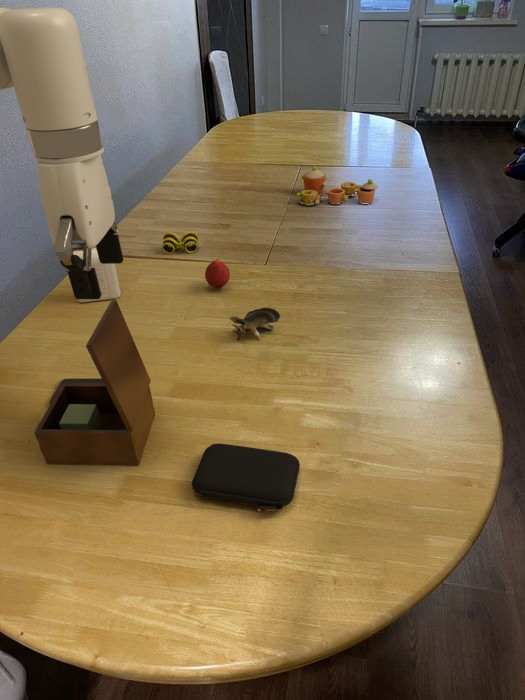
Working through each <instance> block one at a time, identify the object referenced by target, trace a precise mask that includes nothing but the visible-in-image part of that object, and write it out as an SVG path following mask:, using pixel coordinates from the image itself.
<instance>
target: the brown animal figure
mask: <svg viewBox="0 0 525 700" xmlns="http://www.w3.org/2000/svg"><path fill="white" fill-rule="evenodd" d="M281 316H282V315H281V314H280V312H278V310H276V309H275V308H270V307H261V308H257V309H253V310H249V311H248V312H247V313H246V314H245V316H244V317H243V318H240V317H239V316H236V315H233V316H229V320H230V321H231V322H232V323H234V324H231V326H233V327H235V328H234V329H232V332H233V333H235V334H236V335H237V338H236V341H240V340H241V339H242V338H243V336H244V334H245V333H247V332H249V333H250V334H251V335H253V336H255V338H257V339H258V341H261V334H260V332H259V331H258V330H257V329H258V328H259V329H267V330H270V331H273V330H275V328H274V326H273V325H271V324H273V323H278V321H279V319H281Z"/></svg>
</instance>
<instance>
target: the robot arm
mask: <svg viewBox="0 0 525 700" xmlns="http://www.w3.org/2000/svg"><path fill="white" fill-rule="evenodd" d="M11 88H14V92H15V95H16V99H17V102H18V105H19V110H20V113H21V116H22V120H23V124H24V127H25V130H26V133H27V136H28V137H27V138H28V141H29V144H30V147H31V150H32V154H33V158H34V161H35V162H37V163H36V168H37V169H36V170H37V179H38V185H39V191H40V196H41V197H40V198H41V202H42V206H43V210H44V211H43V212H44V214H45V220H46V223H47V227H48V231H49V236H50V238H51V242H52V245H53V250H54V253H55V254H56V256H57V258H58V259H59V263H60V265H61V266H62V267H63V268H64V269H63V270H64V271H65V272H66V273H67V275H68V279H69V282H70V286H71V289H72V292H73V296H74V298H75V299H76V300H77V299H100V297H101V295H102V294H101V290H100V286H99V282H98V278H97V274H96V271H95V267H92V268H91V252H92V248H96V249H97V253H98V257H99V261H100V263H102V264H115V265H116V264H118V265H119V264H122V263H123V262H124V256H123V249H122V247H121V241H120V236H119V234H118V231H119V229H118V225H117V223H116V222H115V221H116V212H115V207H114V201H113V195H112V191H111V188H110V183H109V180H108V179H109V178H108V176H107V172H106V169H105V165H104V162H103V158H102V156H101V155H102V154H104V153H105V149H104V143H103V139H102V134H101V129H100V125H99V119H98V115H97V111H96V106H95V101H94V96H93V91H92V88H91V81H90V77H89V72H88V68H87V62H86V59H85V53H84V49H83V44H82V40H81V35H80V31H79V27H78V23H77V20H76V18H75V17H74V15H73V14H72V13H71V12H70V11H69V10H67V9H65V8H62V7H56V6H44V7H41V6H40V7H27V8H15V9H14V8H8V7H2V6H0V91H2V90H6V89H11ZM73 241H74V242H73ZM76 241H78V242H76ZM79 241H82V242H79ZM83 241H84V242H83ZM75 251H83V260H82V259H81V258H80V257H79V256H78V255H74V254H73V252H75Z"/></svg>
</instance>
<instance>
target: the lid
mask: <svg viewBox="0 0 525 700" xmlns="http://www.w3.org/2000/svg"><path fill="white" fill-rule="evenodd" d="M85 348H86V349H87V352H88V354H89V356H90V357H91V360H92V362H93V364H94V366H95V368H96V370H97V372H98V374H99V376H100V379H102V380H103V382H104V384H105V386H106V388H107V390H108V392H109V394H110V396H111V398H112V400H113V402H114V404H115V406H116V408H117V410H118V412H119V414H120V416H121V418H122V420H123V422H124V424H125V426H126V429H127V431H128V432H129V431H133V429H134V427H135V424H136V421H137V418H138V415H139V413H140V410H141V407H142V404H143V401H144V399H145V396H146V393H147V390H148V387H149V386H150V384H151V382H152V381H151V377H150V376H149V373H148V371H147V368H146V367H145V363H144V362H143V359H142V357H141V355H140V352H139V349H138V348H137V345H136V343H135V340H134V339H133V336H132V334H131V331H130V328H129V326H128V324H127V322H126V320H125V317H124V315H123V312H122V310H121V308H120V305H119V303H118V301H117V299H111V300H110V301H109V304H108V306H107V307H106V309H105V311H104V313H103V314H102V316H101V318H100V320H99V322H98V323H97V325H96V327H95V329H94V330H93V332H92V334H91V336H90V338H89V339H88V341H87V342H86V344H85Z"/></svg>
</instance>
